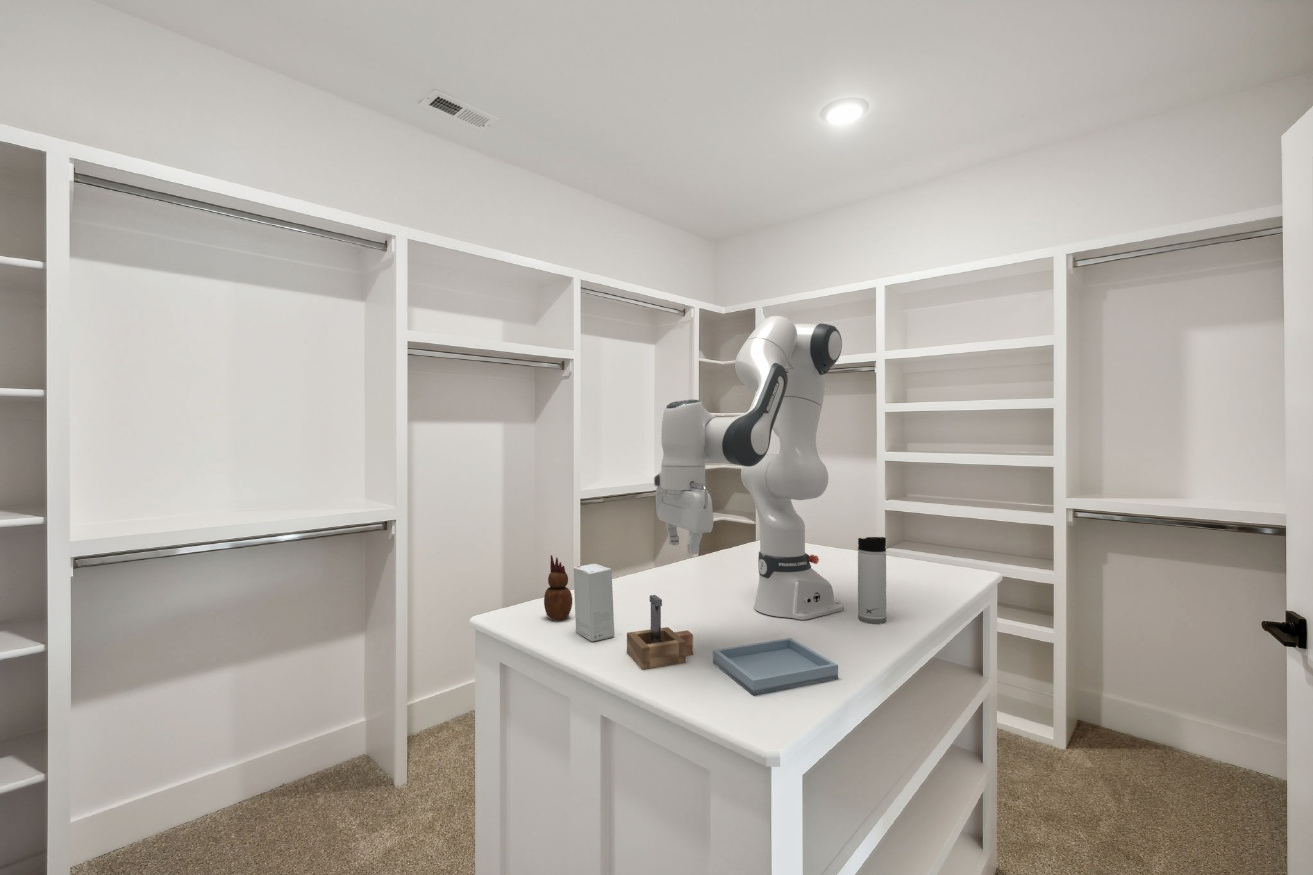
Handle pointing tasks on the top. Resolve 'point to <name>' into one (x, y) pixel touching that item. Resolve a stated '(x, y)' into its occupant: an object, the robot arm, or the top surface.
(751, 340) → the robot arm
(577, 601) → the skincare box
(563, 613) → the wooden figurine
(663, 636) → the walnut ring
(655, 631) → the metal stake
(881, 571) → the travel mug
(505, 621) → the top surface
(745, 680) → the slate-blue tray
